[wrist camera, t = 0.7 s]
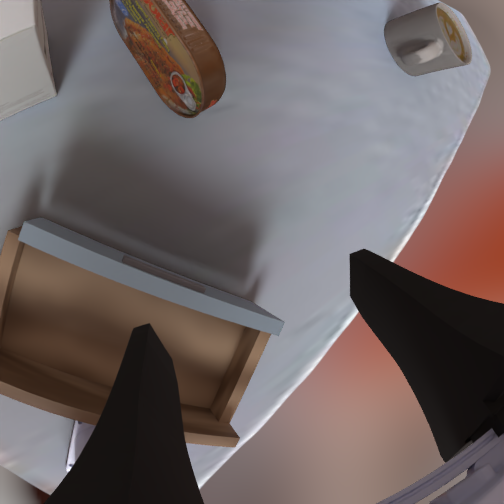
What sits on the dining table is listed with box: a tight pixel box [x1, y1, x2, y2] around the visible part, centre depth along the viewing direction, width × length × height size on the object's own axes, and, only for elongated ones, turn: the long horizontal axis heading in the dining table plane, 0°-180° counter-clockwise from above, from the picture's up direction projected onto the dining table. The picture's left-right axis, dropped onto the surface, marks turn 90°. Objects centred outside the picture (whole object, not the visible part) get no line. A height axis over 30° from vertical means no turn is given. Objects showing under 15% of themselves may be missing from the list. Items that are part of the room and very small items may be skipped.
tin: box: [109, 0, 226, 118], centre depth 21 cm, size 15×3×8 cm, turn 33°
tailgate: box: [18, 217, 285, 336], centre depth 23 cm, size 2×20×6 cm, turn 64°
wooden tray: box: [0, 226, 271, 447], centre depth 24 cm, size 12×24×7 cm, turn 64°
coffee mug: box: [384, 3, 472, 76], centre depth 34 cm, size 13×10×10 cm
